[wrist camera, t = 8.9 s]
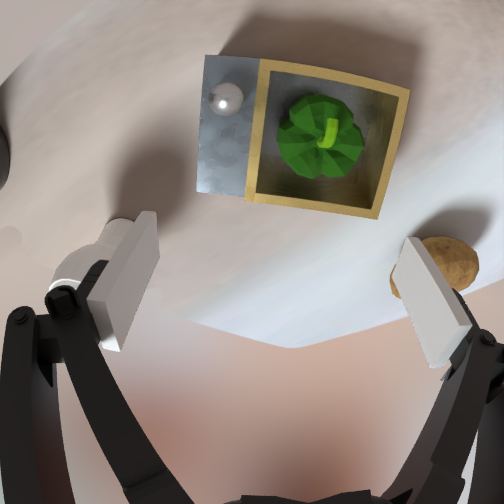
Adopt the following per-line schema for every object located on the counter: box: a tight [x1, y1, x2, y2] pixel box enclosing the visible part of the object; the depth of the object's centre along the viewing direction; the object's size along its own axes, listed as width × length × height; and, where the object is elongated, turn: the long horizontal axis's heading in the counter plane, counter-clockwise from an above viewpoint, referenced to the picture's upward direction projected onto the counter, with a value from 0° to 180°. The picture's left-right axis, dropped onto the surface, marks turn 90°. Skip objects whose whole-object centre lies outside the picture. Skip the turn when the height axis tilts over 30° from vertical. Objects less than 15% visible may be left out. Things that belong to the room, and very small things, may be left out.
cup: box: [48, 218, 134, 292], centre depth 39 cm, size 11×11×15 cm
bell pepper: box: [277, 93, 365, 179], centre depth 29 cm, size 8×8×10 cm
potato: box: [390, 236, 479, 299], centre depth 40 cm, size 10×14×8 cm
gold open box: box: [197, 55, 410, 220], centre depth 31 cm, size 19×14×9 cm
